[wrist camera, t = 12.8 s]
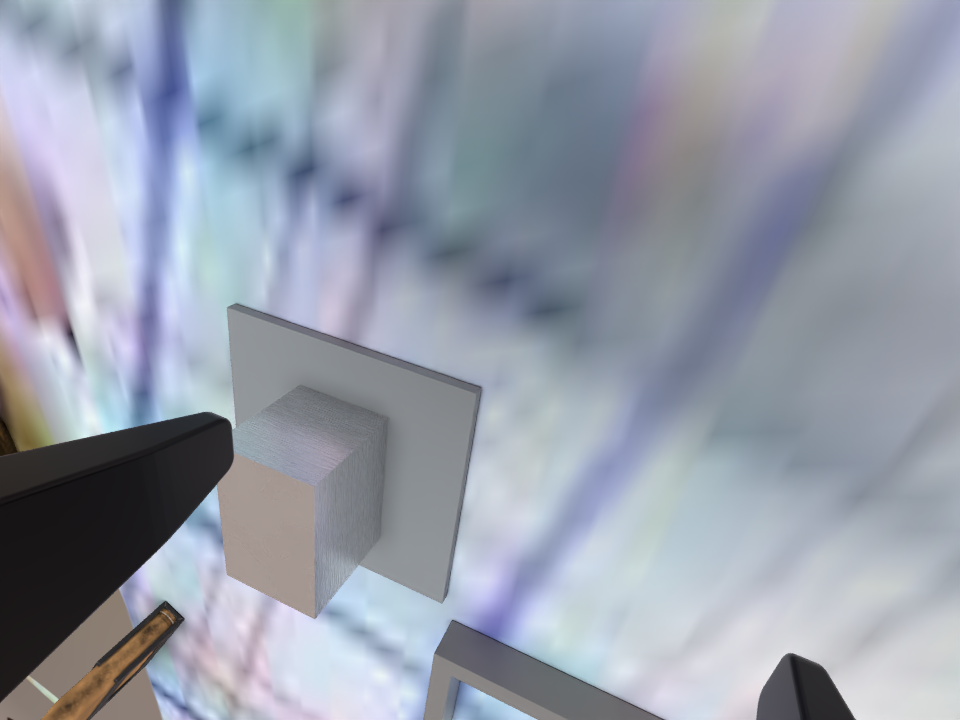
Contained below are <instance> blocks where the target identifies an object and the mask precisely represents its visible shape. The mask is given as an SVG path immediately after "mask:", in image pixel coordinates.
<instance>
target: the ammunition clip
mask: <svg viewBox="0 0 960 720" xmlns="http://www.w3.org/2000/svg"><path fill="white" fill-rule="evenodd" d="M183 621H184V618H183V617H182V616H181V615H180V614H179V613H178V612H177V611H176V610H175V609H174V608H172V607H171V606H170V605H169V604H168V603H167V602H166V601H164V602H163V603H162V604H161V605H160V606H159V607H158V608H157V609H156V610H154V611H153V612H152V613H151V614H150V615H149V616H148V617H147V618H145V619H144V620H143V621H142V622H141V623H140V624H139V625H138V626H137V627H135V628H134V629H133V630H132V631H131V632H130V633H129V634H128V635H126V636H125V637H124V638H123V639H122V640H121V641H120V642H119V643H118V644H117V645H115V646H114V647H113V648H112V649H111V650H110V651H109V652H108V653H106V654H105V655H104V656H103V657H102V658H101V659H100V660H99V661H98V662H97V663H96V664H95V666H94V667H93V669H92V670H91V671H90V672H89V673H88V674H87V675H86V676H85V677H84V678H82V679H81V680H80V681H79V682H78V683H77V684H76V685H75V686H73V687H72V688H71V689H70V690H69V691H68V692H67V693H66V694H65V695H64V696H62V697H61V698H60V699H59V700H58V701H57V702H56V703H55V704H54V705H53V706H52V708H51V709H50V710H49V711H48V712H47V714H46V715H45V716H44V717H43V718H42V719H41V720H90V719H91V718H92V717H93V716H94V715H95V714H96V713H97V712H98V711H99V710H100V709H101V708H102V707H103V706H104V705H106V703H107V702H109V701H110V700H111V699H112V698H113V697H114V696H115V695H116V694H117V693H118V692H119V691H120V690H121V689H122V688H123V687H124V686H125V685H126V684H127V683H128V682H129V681H130V680H131V679H132V678H133V677H134V676H136V675H137V673H139V672H140V671H141V669H143V668H144V667H145V666H146V665H147V664H148V662H149V661H150V660H151V659H152V658H153V656H154V655H155V654H156V653H157V652H158V650H159V649H160V648H161V647H162V646H163V644H164V643H165V642H166V641H167V640H168V638H169V637H170V636H171V635H172V634H173V633H174V631H175V630H176V629H177V628H178V627H179V625H180V624H181V623H182V622H183Z"/></svg>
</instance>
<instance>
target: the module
mask: <svg viewBox="0 0 960 720" xmlns="http://www.w3.org/2000/svg"><path fill="white" fill-rule="evenodd" d="M388 422H389V417H386V416H384V415H381V414H378V413H375V412H373V411H370V410H367V409H365V408H362V407H359V406H357V405H354V404H351V403H348V402H346V401H343V400H340V399H338V398H335V397H332V396H330V395H327V394H324V393H321V392H319V391H316V390H313V389H311V388H308V387H305V386H303V385H299V386H297V387H296V388H294V389H293V390H291V391H290V392H288V393H287V394H285V395H284V396H282V397H281V398H279V399H278V400H276V401H275V402H273V403H272V404H270V405H269V406H267V407H266V408H264V409H263V410H261V411H260V412H258V413H257V414H255V415H254V416H253V417H251V418H250V419H248V420H247V421H245V422H244V423H242V424H241V425H239V426H238V427H236V428H235V429H233V430H232V436H233V448H234V460H233V463H232V466H231V468H230V469H229V471H228V472H227V473H226V474H225V475H224V477H223V478H222V479H221V480H220V481H219V482H218V484H217V489H218V498H219V507H220V516H221V525H222V535H223V544H224V553H225V562H226V571H227V575H228V576H230V577H232V578H234V579H236V580H238V581H240V582H242V583H244V584H246V585H248V586H250V587H252V588H254V589H256V590H258V591H260V592H262V593H264V594H266V595H268V596H270V597H272V598H274V599H276V600H278V601H280V602H282V603H284V604H286V605H288V606H290V607H292V608H294V609H296V610H298V611H300V612H302V613H304V614H306V615H308V616H310V617H312V618H314V619H315V618H316V617H317V616H318V615H319V613H320V612H321V611H322V610H323V608H324V607H325V606H326V605H327V603H328V602H329V601H330V600H331V599H332V597H333V596H334V595H335V594H336V592H337V591H338V590H339V589H340V587H341V586H342V585H343V584H344V582H345V581H346V580H347V579H348V577H349V576H350V575H351V574H352V572H353V571H354V570H355V569H356V567H357V566H358V565H359V564H360V562H361V561H362V560H363V559H364V557H365V556H366V555H367V554H368V553H369V551H370V550H371V549H372V548H373V546H374V545H375V544H376V543H377V541H378V540H379V539H380V534H381V520H382V506H383V492H384V478H385V464H386V450H387V436H388Z"/></svg>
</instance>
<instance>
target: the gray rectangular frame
mask: <svg viewBox="0 0 960 720" xmlns="http://www.w3.org/2000/svg"><path fill="white" fill-rule="evenodd" d="M460 681H462V682H464V683H466V684H468V685H470V686H472V687H474V688H476V689H478V690H480V691H482V692H484V693H486V694H488V695H490V696H492V697H494V698H496V699H498V700H500V701H502V702H504V703H506V704H508V705H510V706H512V707H514V708H516V709H518V710H520V711H522V712H524V713H526V714H528V715H530V716H532V717H534V718H536V719H538V720H662V719H660V718H658V717H656V716H654V715H652V714H650V713H647V712H645V711H643V710H641V709H639V708H637V707H635V706H633V705H631V704H628V703H626V702H624V701H622V700H620V699H618V698H616V697H614V696H612V695H609V694H607V693H605V692H603V691H601V690H599V689H597V688H595V687H592V686H590V685H588V684H586V683H584V682H582V681H580V680H578V679H576V678H573V677H571V676H569V675H567V674H565V673H563V672H561V671H559V670H557V669H554V668H552V667H550V666H548V665H546V664H544V663H542V662H540V661H537V660H535V659H533V658H531V657H529V656H527V655H525V654H523V653H521V652H518V651H516V650H514V649H512V648H510V647H508V646H506V645H504V644H502V643H499V642H497V641H495V640H493V639H491V638H489V637H487V636H485V635H482V634H480V633H478V632H476V631H474V630H472V629H470V628H468V627H466V626H463V625H461V624H459V623H457V622H455V621H453V620H452V622H451V623H450V625H449V627H448V629H447V631H446V633H445V635H444V636H443V638H442V640H441V642H440V644H439V646H438V647H437V649H436V651H435V653H434V658H433V664H432V670H431V676H430V682H429V688H428V694H427V701H426V707H425V713H424V719H423V720H452V717H453V712H454V707H455V702H456V697H457V692H458V687H459V683H460Z"/></svg>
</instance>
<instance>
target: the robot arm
mask: <svg viewBox="0 0 960 720" xmlns="http://www.w3.org/2000/svg"><path fill="white" fill-rule="evenodd" d="M233 460H234V448H233V436H232V426H231V423H230V421H229V420H228V419H226V418H224V417H222V416H219V415H217V414H214V413H212V412H202V413H198V414H193V415H188V416H184V417H179V418H175V419H170V420H165V421H161V422H156V423H152V424H147V425H142V426H138V427H133V428H128V429H124V430H119V431H115V432H110V433H105V434H101V435H96V436H92V437H87V438H82V439H78V440H73V441H69V442H64V443H59V444H55V445H50V446H46V447H41V448H36V449H32V450H27V451H22V452H18V453H13V454H9V455H4V456H0V703H1V702H2V701H3V700H4V699H5V697H7V696H8V695H9V694H10V693H11V692H12V691H13V690H14V689H15V688H16V687H17V686H18V685H19V684H20V683H21V682H22V681H23V680H24V679H25V678H26V677H27V676H28V675H30V674H31V672H33V671H34V670H35V669H36V668H37V667H38V666H39V665H40V664H41V663H42V662H43V661H44V660H45V659H46V658H47V657H48V656H49V655H50V654H51V653H52V652H53V651H54V650H55V649H56V648H57V647H58V646H59V645H60V644H62V642H64V641H65V640H66V639H67V638H68V637H69V636H70V635H71V634H72V633H73V632H74V631H75V630H76V629H77V628H78V627H79V626H80V625H81V624H82V623H83V622H84V621H85V620H86V619H87V618H88V617H90V616H91V615H92V614H93V613H94V612H95V611H96V610H97V609H98V608H99V607H100V606H101V605H102V604H103V603H104V602H105V601H106V600H107V599H108V598H109V597H110V596H111V595H112V594H113V593H114V592H115V591H116V590H118V589H119V588H120V587H121V586H122V585H123V584H124V583H125V582H126V581H127V580H128V579H129V578H130V577H131V576H132V575H133V574H134V573H135V572H136V571H137V570H138V569H139V568H140V567H141V566H142V565H143V564H144V563H145V562H146V561H148V560H149V559H150V558H151V557H152V556H153V555H154V554H155V553H156V552H157V551H158V550H159V549H160V548H161V547H162V546H163V545H164V544H165V543H166V542H167V541H168V540H169V539H170V538H171V537H172V535H173V534H174V533H175V532H176V531H177V530H178V529H179V528H180V527H181V525H182V524H183V523H184V522H185V521H186V520H187V518H188V517H189V516H190V515H191V514H192V513H193V511H194V510H195V509H196V508H197V507H198V506H199V504H200V503H201V502H202V501H203V500H204V499H205V498H206V496H207V495H208V494H209V493H210V492H211V491H212V489H213V488H214V487H215V486H216V485H217V484H218V482H219V481H220V480H221V479H222V478H223V477H224V475H225V474H226V473H227V472H228V471H229V469H230V468H231V466H232V463H233ZM756 720H856V719H855V718H854V716H853V714H852V713H851V711H850V709H849V708H848V706H847V704H846V703H845V701H844V699H843V698H842V696H841V694H840V693H839V691H838V689H837V688H836V686H835V684H834V683H833V681H832V679H831V678H830V676H829V674H828V673H827V671H826V670H825V669H824V668H823V667H822V666H821V665H819V664H817V663H815V662H813V661H810V660H808V659H805V658H803V657H801V656H798V655H796V654H793V653H788V654H786V655H785V656H784V657H783V658H782V659H781V661H780V662H779V664H778V665H777V667H776V668H775V670H774V672H773V673H772V675H771V676H770V678H769V679H768V681H767V683H766V684H765V686H764V687H763V689H762V692H761V694H760V698H759V702H758V708H757V718H756Z"/></svg>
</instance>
